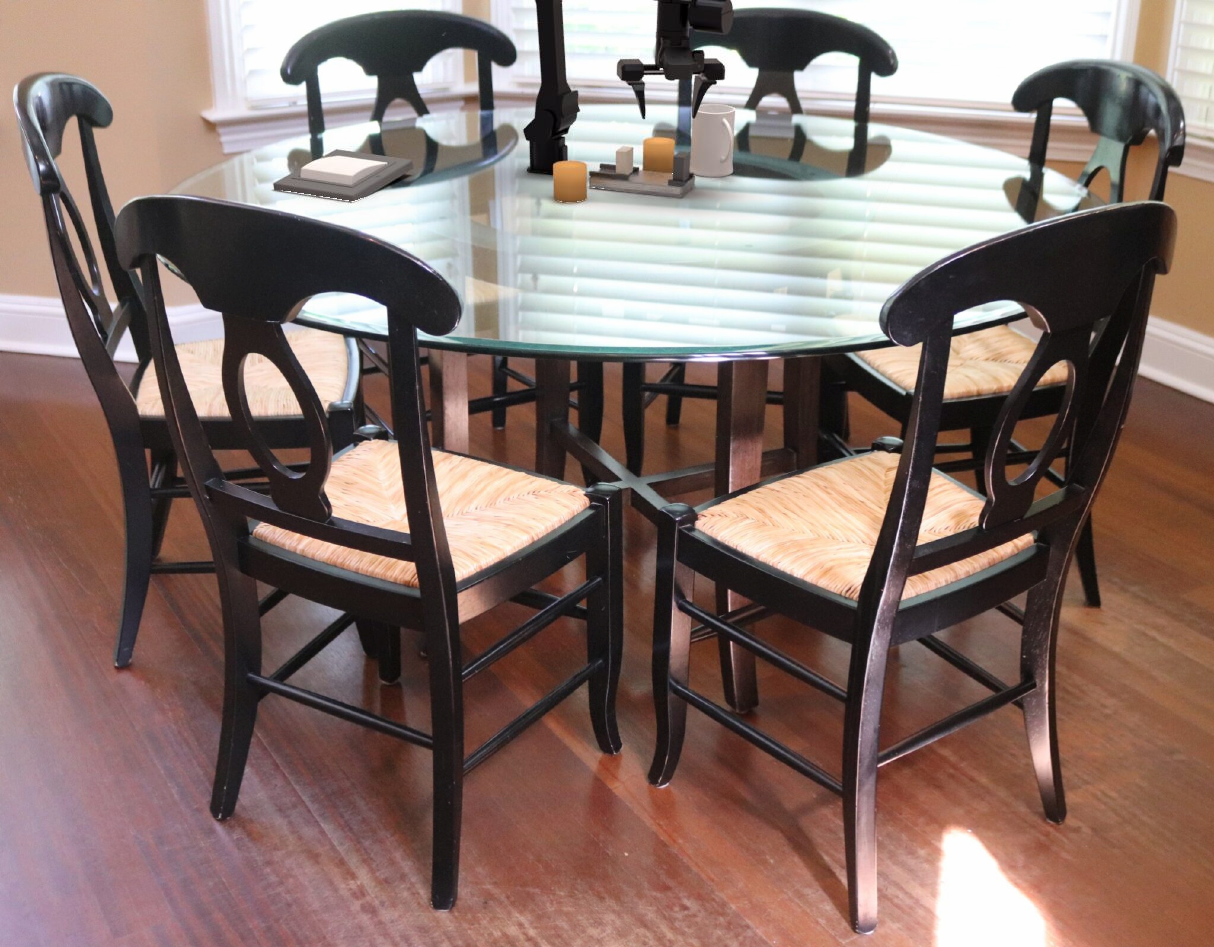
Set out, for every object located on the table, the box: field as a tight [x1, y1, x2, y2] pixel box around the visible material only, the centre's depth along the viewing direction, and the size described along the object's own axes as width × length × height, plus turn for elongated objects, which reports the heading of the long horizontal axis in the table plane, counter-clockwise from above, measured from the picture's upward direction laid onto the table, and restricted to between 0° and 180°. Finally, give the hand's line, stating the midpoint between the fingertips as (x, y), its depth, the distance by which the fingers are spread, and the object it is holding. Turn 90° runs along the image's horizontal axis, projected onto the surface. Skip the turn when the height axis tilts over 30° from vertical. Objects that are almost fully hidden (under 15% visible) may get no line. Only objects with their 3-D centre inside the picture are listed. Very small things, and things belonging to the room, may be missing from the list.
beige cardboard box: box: [615, 145, 634, 175], centre depth 230 cm, size 2×4×4 cm, turn 160°
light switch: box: [272, 148, 414, 201], centre depth 232 cm, size 18×5×20 cm
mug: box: [690, 103, 736, 178], centre depth 237 cm, size 12×8×12 cm
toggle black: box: [673, 151, 691, 180], centre depth 227 cm, size 2×4×4 cm, turn 160°
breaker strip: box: [588, 162, 696, 199], centre depth 231 cm, size 18×8×3 cm, turn 70°
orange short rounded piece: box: [642, 136, 676, 173], centre depth 239 cm, size 6×6×6 cm
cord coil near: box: [552, 160, 588, 203], centre depth 224 cm, size 6×6×6 cm
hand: (668, 118), depth 226 cm, fingers open, 9 cm apart
